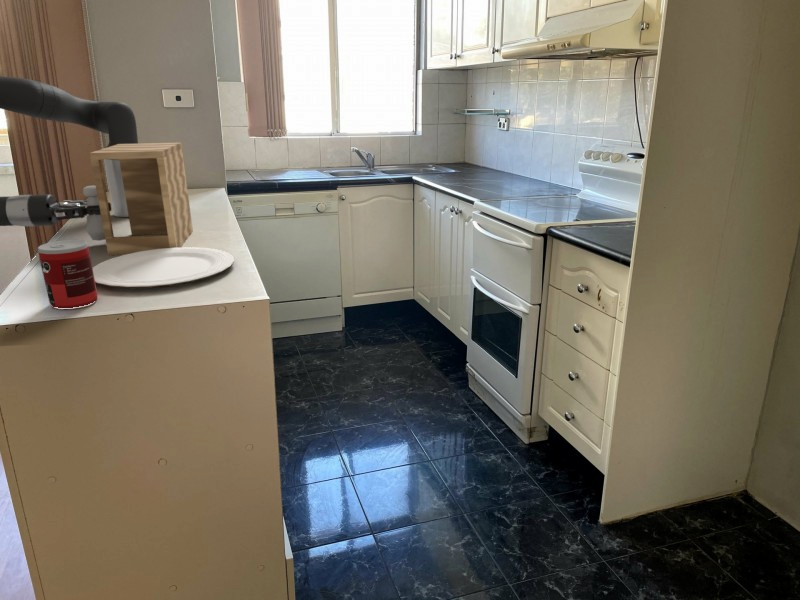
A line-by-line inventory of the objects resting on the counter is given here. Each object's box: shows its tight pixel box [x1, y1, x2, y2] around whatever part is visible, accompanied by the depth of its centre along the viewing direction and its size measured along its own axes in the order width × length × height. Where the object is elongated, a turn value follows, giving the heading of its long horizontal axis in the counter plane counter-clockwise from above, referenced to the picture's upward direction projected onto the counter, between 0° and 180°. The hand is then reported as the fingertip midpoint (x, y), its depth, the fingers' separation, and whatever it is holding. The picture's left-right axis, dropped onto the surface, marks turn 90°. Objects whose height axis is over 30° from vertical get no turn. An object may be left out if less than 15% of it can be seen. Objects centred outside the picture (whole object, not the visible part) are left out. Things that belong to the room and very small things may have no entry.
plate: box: [92, 246, 235, 289], centre depth 128 cm, size 29×29×2 cm
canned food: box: [37, 239, 99, 308], centre depth 107 cm, size 8×8×11 cm
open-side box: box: [89, 142, 194, 256], centre depth 148 cm, size 22×16×24 cm
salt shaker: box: [82, 185, 106, 241], centre depth 147 cm, size 6×6×13 cm
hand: (108, 208), depth 147 cm, fingers closed on salt shaker, 3 cm apart
